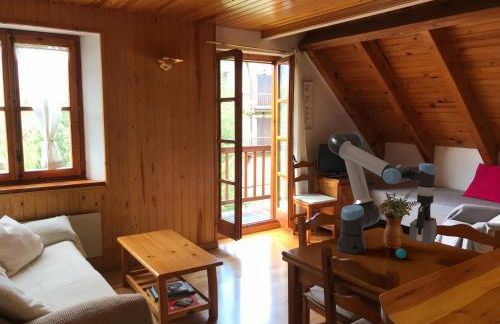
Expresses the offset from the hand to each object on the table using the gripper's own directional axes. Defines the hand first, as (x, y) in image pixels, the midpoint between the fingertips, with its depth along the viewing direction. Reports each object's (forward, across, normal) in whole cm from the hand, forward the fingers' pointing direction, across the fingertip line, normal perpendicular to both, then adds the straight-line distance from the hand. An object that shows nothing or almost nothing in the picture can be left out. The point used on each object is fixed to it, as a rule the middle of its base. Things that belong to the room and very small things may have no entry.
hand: (422, 237), depth 211 cm
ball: (+8, -6, +8) cm, 13 cm away
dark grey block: (+1, 0, 0) cm, 1 cm away
